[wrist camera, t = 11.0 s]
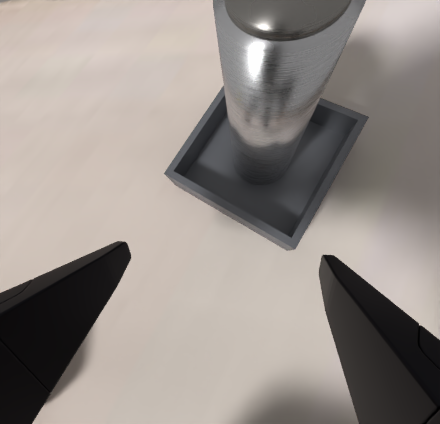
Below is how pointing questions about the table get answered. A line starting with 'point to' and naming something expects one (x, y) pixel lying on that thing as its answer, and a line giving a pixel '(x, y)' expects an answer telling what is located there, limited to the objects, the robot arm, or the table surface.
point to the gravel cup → (276, 73)
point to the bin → (274, 192)
